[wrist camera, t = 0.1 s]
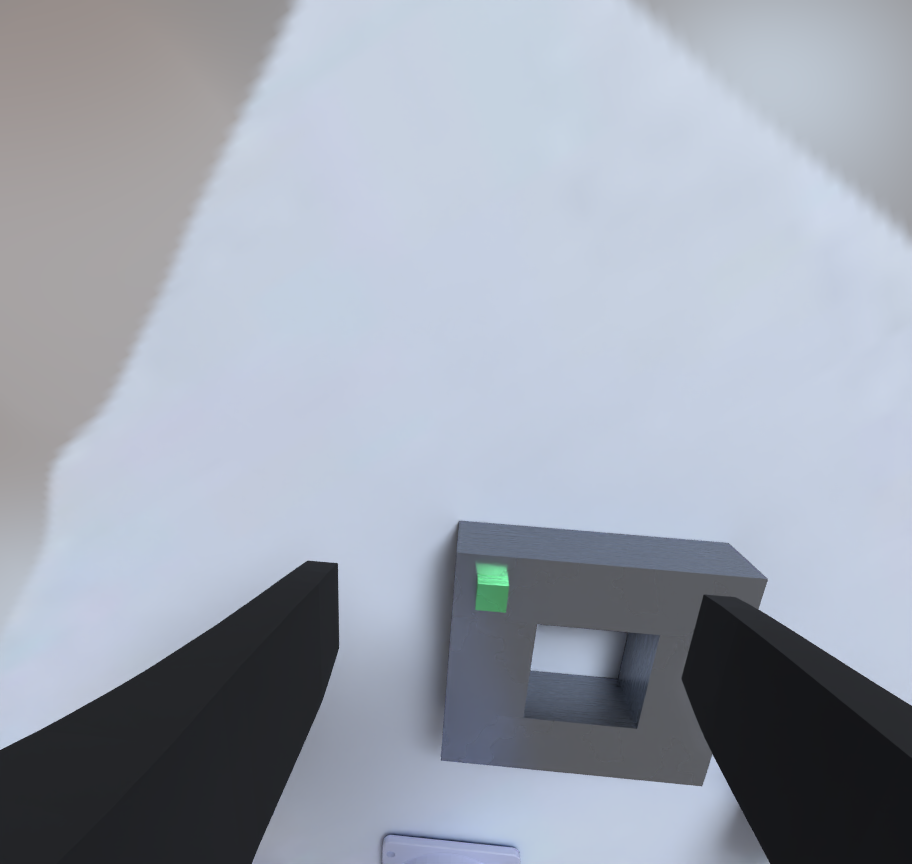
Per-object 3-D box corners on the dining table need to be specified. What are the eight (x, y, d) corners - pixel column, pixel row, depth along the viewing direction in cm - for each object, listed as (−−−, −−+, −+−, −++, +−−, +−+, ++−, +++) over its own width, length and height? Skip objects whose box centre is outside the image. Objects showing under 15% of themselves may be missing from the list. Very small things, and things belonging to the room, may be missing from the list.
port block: (676, 731, 22) (709, 800, 19) (444, 709, 22) (439, 773, 19) (728, 543, 19) (778, 588, 16) (459, 520, 19) (456, 561, 16)
